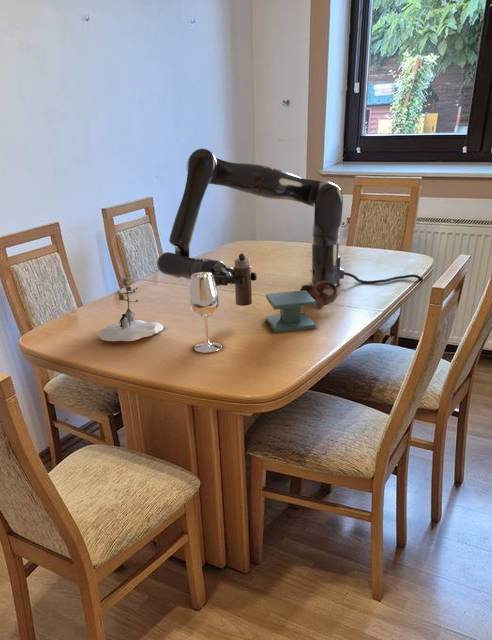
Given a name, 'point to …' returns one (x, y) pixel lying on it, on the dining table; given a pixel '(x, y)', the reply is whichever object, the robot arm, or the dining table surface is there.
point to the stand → (290, 311)
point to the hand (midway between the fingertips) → (249, 279)
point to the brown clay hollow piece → (321, 293)
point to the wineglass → (204, 305)
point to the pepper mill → (244, 291)
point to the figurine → (129, 324)
